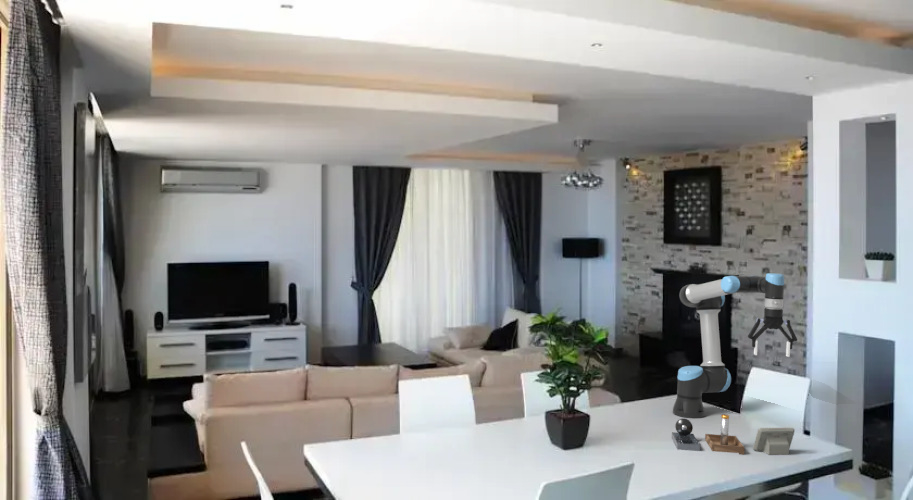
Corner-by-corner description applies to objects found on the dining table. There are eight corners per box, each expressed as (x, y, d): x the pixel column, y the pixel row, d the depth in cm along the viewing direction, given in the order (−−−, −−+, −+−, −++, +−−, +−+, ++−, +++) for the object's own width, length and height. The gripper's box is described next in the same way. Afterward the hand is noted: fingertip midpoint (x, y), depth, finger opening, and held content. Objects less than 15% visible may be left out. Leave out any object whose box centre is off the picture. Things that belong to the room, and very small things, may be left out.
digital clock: (789, 449, 302) (790, 424, 301) (797, 456, 293) (799, 431, 292) (749, 447, 303) (751, 423, 302) (757, 454, 294) (758, 429, 293)
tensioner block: (671, 439, 312) (672, 416, 311) (692, 440, 310) (693, 417, 310) (677, 450, 296) (678, 426, 296) (699, 452, 295) (700, 428, 294)
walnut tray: (704, 440, 310) (705, 433, 310) (735, 443, 309) (735, 435, 308) (712, 452, 295) (712, 444, 295) (744, 454, 293) (744, 447, 293)
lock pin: (719, 444, 303) (720, 414, 303) (726, 445, 303) (728, 414, 303) (721, 446, 300) (722, 416, 300) (728, 447, 300) (729, 416, 300)
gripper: (746, 307, 315) (744, 355, 316) (806, 310, 311) (803, 358, 312) (742, 305, 323) (740, 352, 324) (801, 308, 319) (798, 355, 319)
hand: (771, 355), depth 318 cm, fingers open, 13 cm apart
